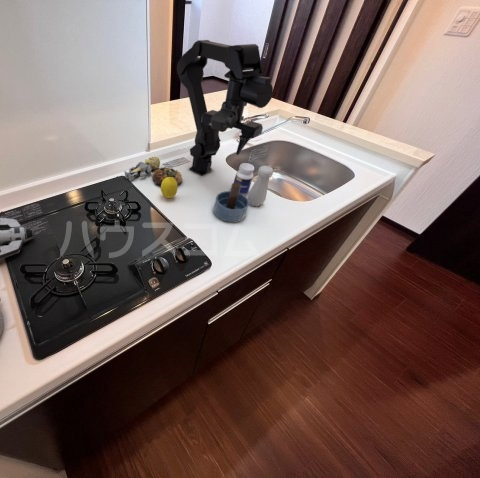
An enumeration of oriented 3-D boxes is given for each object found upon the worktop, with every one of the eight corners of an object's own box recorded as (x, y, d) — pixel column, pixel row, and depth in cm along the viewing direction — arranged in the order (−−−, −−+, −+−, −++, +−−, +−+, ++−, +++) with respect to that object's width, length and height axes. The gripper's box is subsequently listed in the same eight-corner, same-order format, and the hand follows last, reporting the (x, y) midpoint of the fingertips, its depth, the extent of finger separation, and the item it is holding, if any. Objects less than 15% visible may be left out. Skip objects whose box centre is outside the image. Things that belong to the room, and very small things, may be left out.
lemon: (179, 195, 88) (181, 175, 83) (172, 204, 85) (174, 183, 79) (164, 191, 90) (165, 171, 84) (157, 200, 86) (158, 179, 81)
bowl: (207, 212, 82) (209, 199, 79) (224, 200, 88) (227, 187, 84) (233, 227, 78) (237, 214, 74) (250, 213, 83) (255, 200, 79)
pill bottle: (229, 194, 90) (236, 168, 83) (233, 186, 94) (239, 160, 87) (246, 198, 89) (254, 172, 82) (248, 189, 93) (257, 164, 86)
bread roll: (149, 185, 92) (150, 172, 88) (154, 173, 100) (156, 161, 97) (180, 190, 91) (182, 177, 88) (183, 178, 100) (185, 165, 97)
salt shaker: (263, 209, 85) (277, 174, 75) (246, 206, 85) (257, 171, 76) (262, 199, 89) (275, 164, 80) (245, 196, 89) (256, 162, 80)
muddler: (226, 215, 81) (233, 188, 74) (221, 208, 83) (228, 181, 76) (236, 214, 81) (245, 187, 74) (232, 207, 84) (239, 180, 77)
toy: (119, 167, 94) (149, 151, 101) (122, 179, 98) (151, 163, 104) (133, 173, 90) (164, 156, 96) (136, 186, 93) (165, 168, 100)
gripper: (193, 96, 75) (188, 148, 86) (250, 112, 66) (236, 168, 77) (215, 90, 81) (208, 139, 92) (270, 103, 72) (255, 156, 83)
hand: (225, 150), depth 86 cm, fingers open, 9 cm apart
